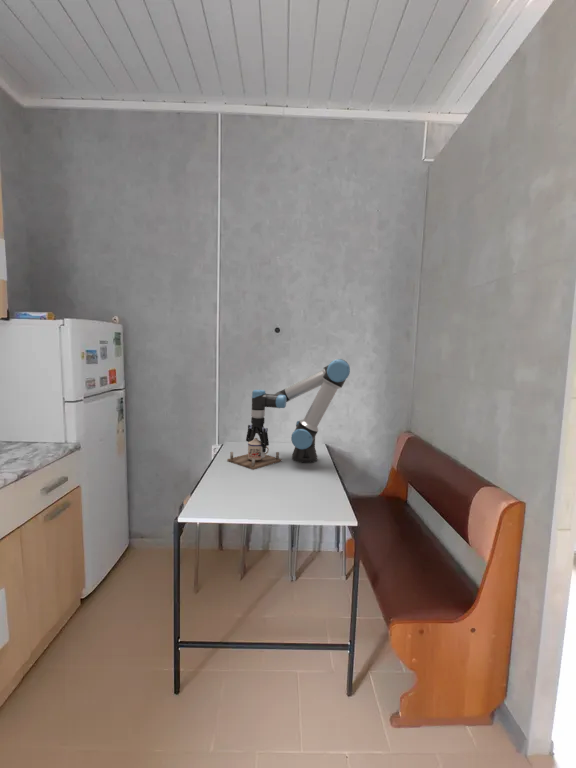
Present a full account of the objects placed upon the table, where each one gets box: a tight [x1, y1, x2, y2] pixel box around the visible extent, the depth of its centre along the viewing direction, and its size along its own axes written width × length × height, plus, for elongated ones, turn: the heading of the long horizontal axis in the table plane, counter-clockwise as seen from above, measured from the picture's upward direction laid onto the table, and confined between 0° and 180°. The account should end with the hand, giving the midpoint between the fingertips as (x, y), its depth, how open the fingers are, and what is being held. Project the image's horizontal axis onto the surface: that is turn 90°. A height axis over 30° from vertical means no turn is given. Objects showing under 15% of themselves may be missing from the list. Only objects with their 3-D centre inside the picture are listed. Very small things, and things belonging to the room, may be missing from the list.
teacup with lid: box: [247, 437, 270, 460], centre depth 222 cm, size 12×9×12 cm
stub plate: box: [226, 451, 283, 471], centre depth 225 cm, size 21×23×5 cm
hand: (256, 455), depth 224 cm, fingers closed on teacup with lid, 9 cm apart
